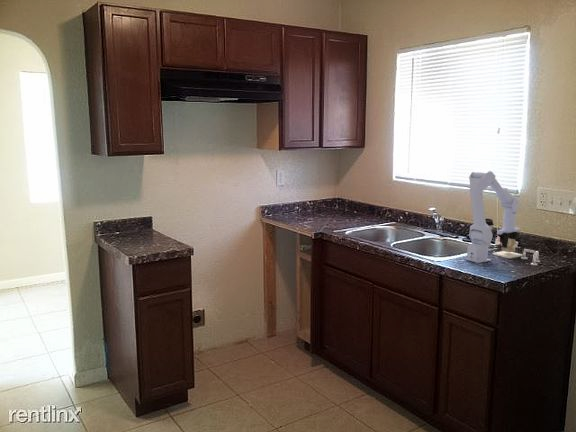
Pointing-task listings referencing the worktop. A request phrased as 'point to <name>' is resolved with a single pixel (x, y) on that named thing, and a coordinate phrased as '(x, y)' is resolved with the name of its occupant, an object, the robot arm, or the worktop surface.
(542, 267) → the worktop surface
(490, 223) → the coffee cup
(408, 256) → the worktop surface
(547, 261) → the worktop surface
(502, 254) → the cream pad
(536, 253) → the grey white arch
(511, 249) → the maple block
